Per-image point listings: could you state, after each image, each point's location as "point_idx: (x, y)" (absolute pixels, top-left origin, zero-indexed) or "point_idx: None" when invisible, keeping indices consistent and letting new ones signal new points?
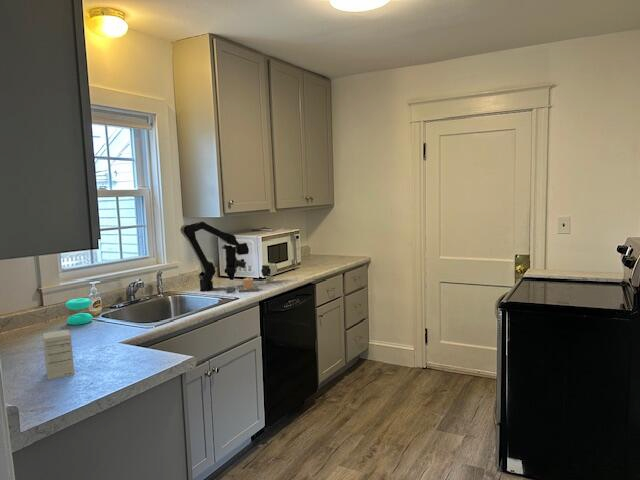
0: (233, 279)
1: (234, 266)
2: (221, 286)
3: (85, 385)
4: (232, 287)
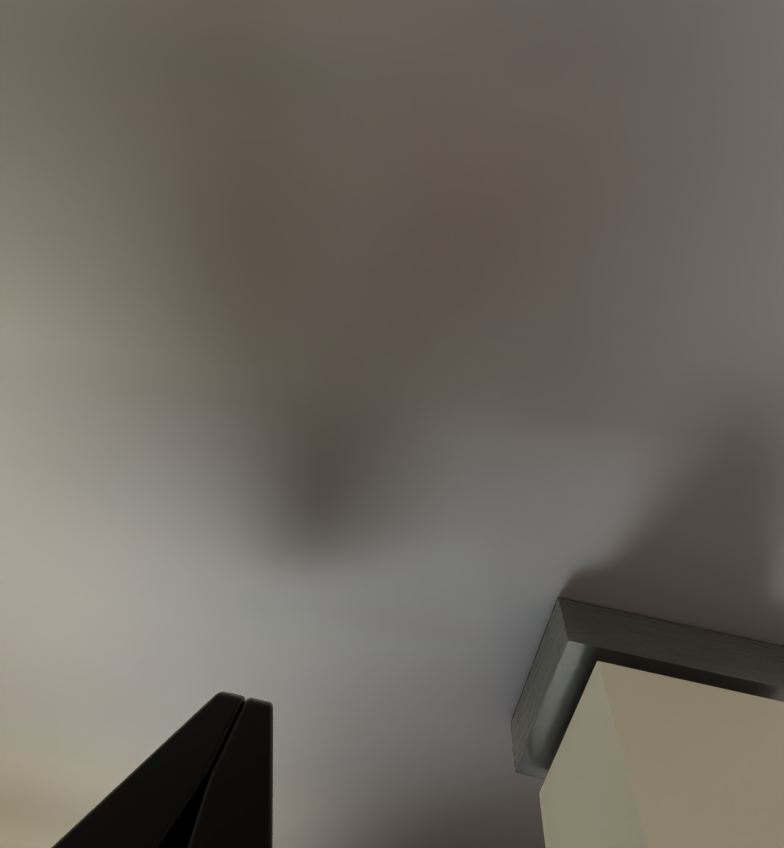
0: (269, 828)
1: None
2: None
3: None
4: None
